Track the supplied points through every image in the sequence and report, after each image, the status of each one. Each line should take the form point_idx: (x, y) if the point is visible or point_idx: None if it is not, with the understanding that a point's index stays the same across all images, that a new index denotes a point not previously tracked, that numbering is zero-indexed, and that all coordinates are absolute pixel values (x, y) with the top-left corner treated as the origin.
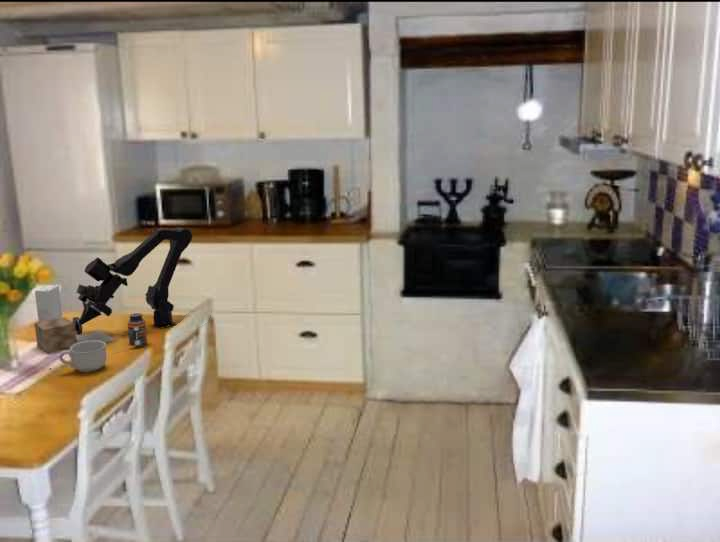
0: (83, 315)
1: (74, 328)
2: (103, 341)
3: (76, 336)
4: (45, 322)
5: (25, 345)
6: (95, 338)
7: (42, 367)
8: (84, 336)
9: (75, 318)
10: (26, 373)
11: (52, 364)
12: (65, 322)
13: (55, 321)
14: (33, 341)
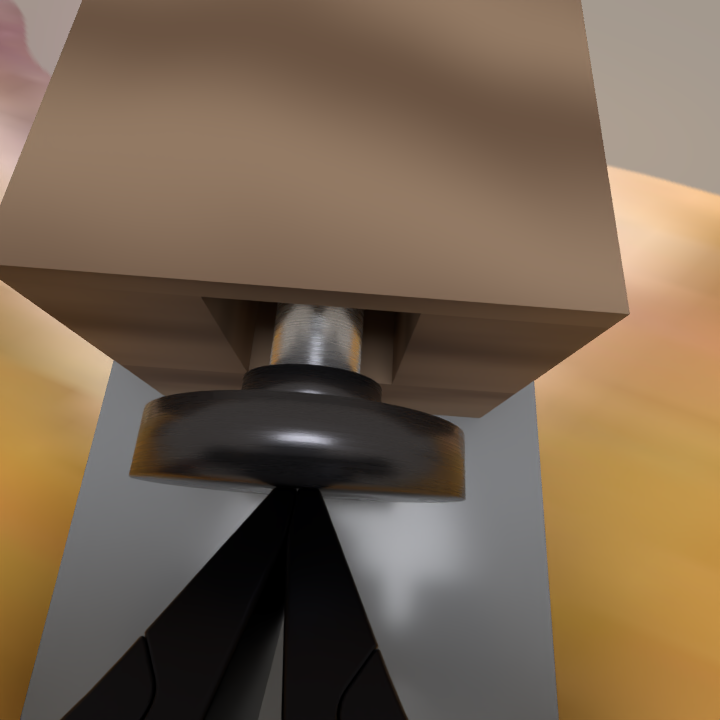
0: (218, 629)
1: (44, 301)
2: (69, 702)
3: (535, 541)
4: (491, 24)
5: (632, 181)
6: (280, 680)
7: (16, 85)
8: (468, 611)
9: (237, 390)
10: (7, 3)
11: (7, 141)
12: (209, 188)
13: (432, 120)
14: (708, 250)
